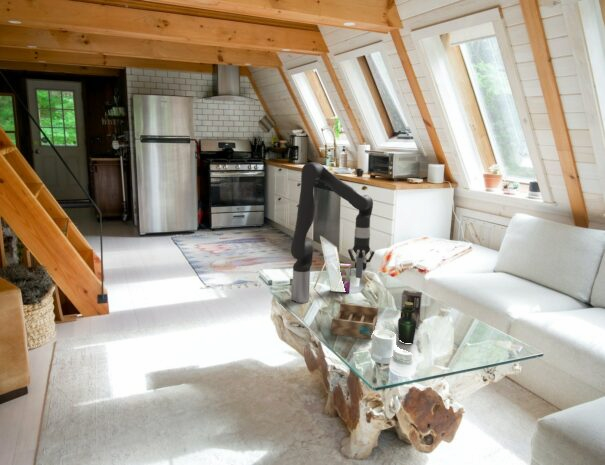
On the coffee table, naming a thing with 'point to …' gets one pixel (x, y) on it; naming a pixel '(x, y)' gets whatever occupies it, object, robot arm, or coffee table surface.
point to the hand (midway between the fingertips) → (360, 269)
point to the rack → (355, 320)
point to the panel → (359, 266)
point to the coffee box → (416, 300)
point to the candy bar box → (346, 275)
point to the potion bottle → (407, 324)
